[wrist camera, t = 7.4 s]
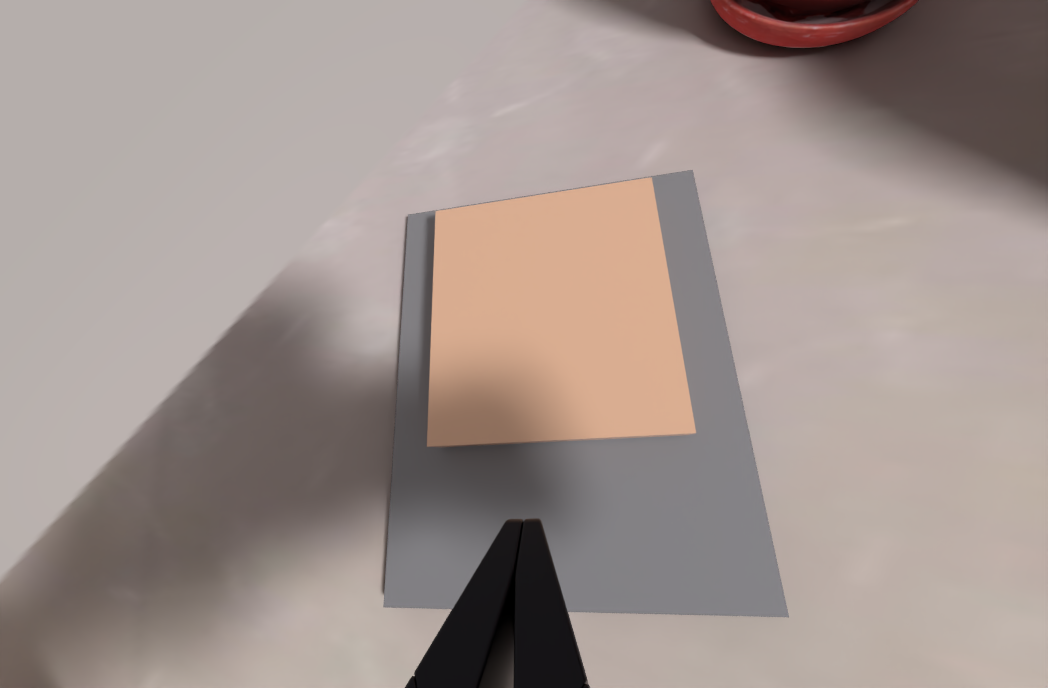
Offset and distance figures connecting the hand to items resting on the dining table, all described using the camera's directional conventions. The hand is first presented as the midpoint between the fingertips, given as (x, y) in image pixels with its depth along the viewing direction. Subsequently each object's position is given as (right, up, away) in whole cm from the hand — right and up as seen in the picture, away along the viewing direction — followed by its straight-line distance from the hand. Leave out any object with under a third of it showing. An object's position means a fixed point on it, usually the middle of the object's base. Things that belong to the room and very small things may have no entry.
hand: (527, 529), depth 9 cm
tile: (+1, 0, +7) cm, 7 cm away
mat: (+1, +3, +9) cm, 10 cm away
